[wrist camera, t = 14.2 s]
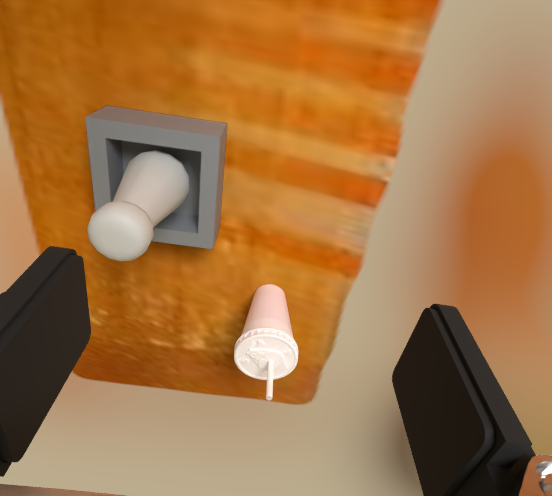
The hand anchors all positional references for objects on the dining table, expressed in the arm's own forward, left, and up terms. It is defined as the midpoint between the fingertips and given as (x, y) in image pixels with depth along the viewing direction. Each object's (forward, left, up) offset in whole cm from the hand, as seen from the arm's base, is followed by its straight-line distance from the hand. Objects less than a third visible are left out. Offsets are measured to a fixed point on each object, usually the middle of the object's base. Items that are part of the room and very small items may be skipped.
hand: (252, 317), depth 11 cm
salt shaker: (+8, -10, -28) cm, 30 cm away
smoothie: (+22, +2, -29) cm, 36 cm away
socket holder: (+8, -10, -29) cm, 31 cm away
